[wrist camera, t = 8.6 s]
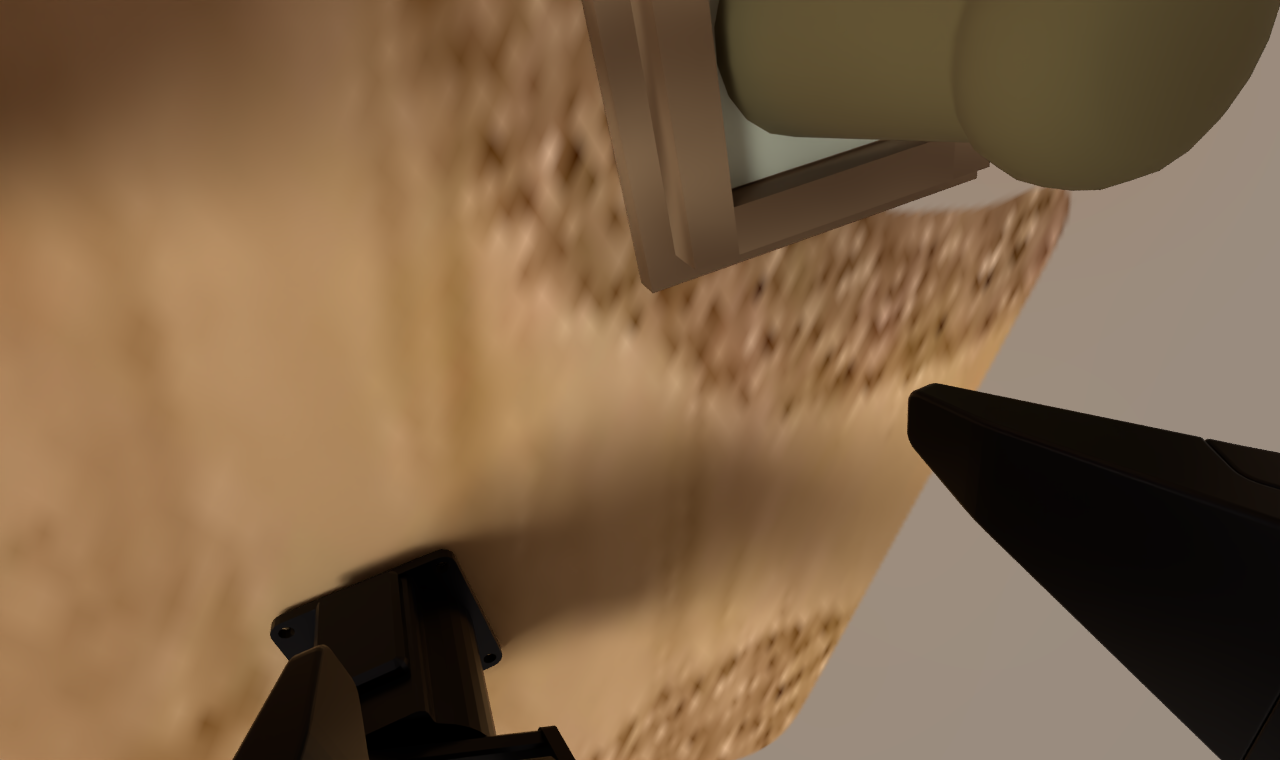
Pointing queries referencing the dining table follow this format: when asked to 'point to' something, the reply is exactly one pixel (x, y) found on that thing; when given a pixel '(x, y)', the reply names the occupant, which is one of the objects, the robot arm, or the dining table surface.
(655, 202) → the brown picture frame
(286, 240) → the dining table surface
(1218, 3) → the olive bulb-ended cylinder
